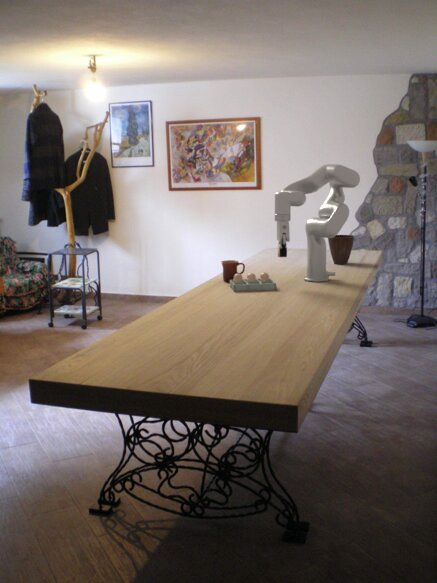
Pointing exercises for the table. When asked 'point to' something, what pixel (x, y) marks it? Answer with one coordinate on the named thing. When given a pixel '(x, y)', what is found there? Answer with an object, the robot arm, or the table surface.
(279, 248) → the egg
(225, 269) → the mug
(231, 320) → the table surface
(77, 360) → the table surface
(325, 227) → the robot arm
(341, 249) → the plant pot
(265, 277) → the carton
